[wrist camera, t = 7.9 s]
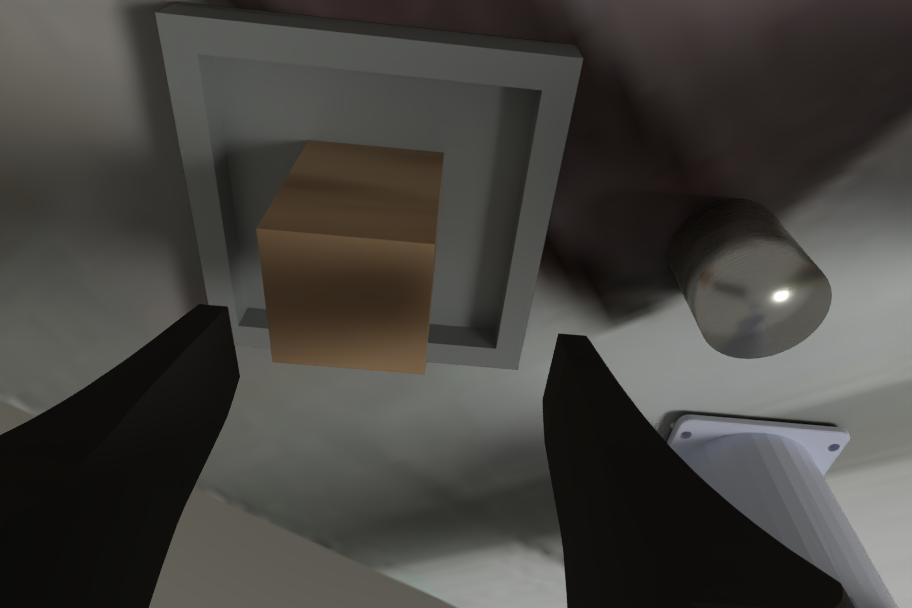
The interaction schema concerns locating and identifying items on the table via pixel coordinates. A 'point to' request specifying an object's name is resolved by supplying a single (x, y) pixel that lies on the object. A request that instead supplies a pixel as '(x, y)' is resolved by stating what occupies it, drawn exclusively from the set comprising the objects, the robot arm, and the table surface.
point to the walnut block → (352, 257)
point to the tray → (374, 124)
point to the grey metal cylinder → (747, 280)
